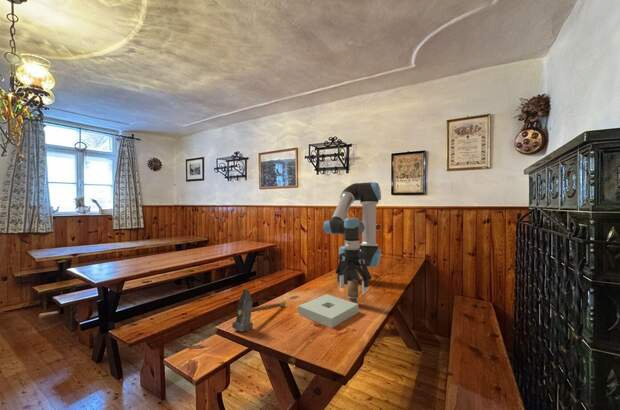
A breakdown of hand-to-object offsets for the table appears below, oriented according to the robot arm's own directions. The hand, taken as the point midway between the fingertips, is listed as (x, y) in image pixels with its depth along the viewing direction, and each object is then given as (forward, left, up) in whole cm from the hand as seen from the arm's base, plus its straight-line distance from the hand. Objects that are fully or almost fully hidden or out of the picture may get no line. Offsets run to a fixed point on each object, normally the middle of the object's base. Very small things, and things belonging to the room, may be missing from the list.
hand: (352, 290), depth 130 cm
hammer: (+39, -23, -8) cm, 46 cm away
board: (+16, -3, -7) cm, 18 cm away
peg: (0, 0, -7) cm, 7 cm away
